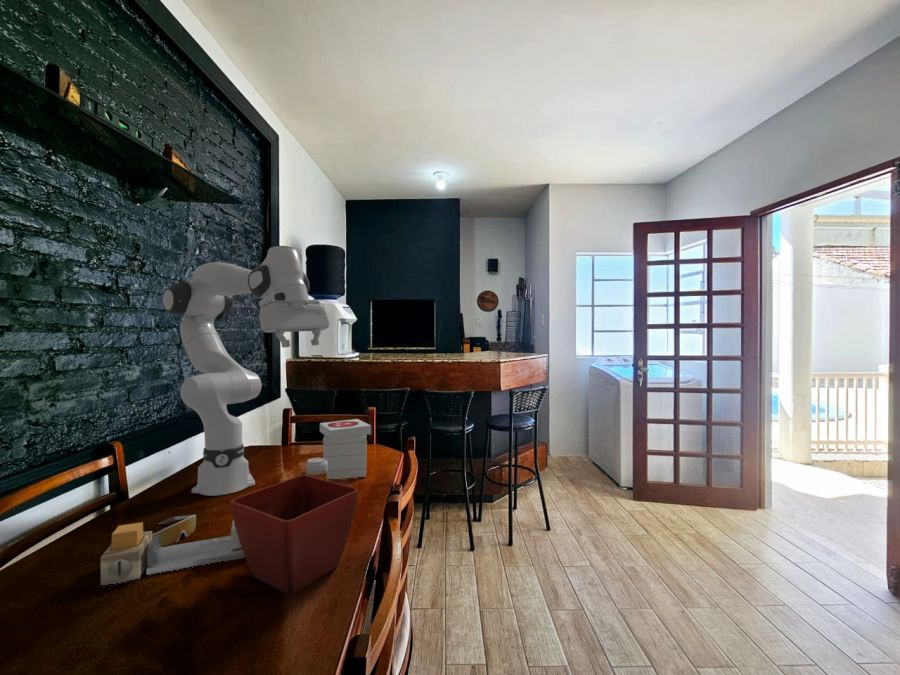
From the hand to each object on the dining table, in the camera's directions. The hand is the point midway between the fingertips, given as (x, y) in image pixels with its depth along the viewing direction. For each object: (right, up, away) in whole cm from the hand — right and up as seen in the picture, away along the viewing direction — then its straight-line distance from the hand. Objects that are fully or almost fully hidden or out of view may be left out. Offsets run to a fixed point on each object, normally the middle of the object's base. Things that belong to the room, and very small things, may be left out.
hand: (301, 346), depth 119 cm
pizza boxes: (+2, -48, +43) cm, 65 cm away
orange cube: (-28, -43, -28) cm, 58 cm away
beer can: (+4, -48, +3) cm, 48 cm away
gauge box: (-28, -48, -28) cm, 62 cm away
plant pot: (+9, -48, -29) cm, 57 cm away
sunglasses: (-32, -49, -12) cm, 59 cm away
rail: (-12, -48, -21) cm, 54 cm away
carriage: (-6, -46, -19) cm, 50 cm away
